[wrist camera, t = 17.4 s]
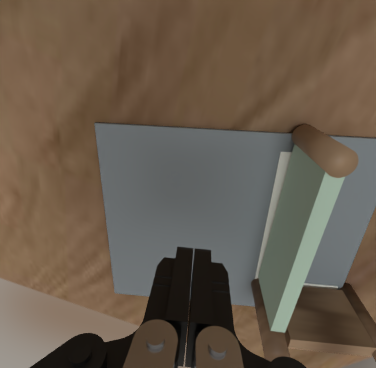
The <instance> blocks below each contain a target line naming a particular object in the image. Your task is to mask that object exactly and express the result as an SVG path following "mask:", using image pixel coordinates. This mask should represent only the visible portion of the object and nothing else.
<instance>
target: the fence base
mask: <svg viewBox="0 0 376 368" xmlns="http://www.w3.org/2000/svg"><path fill="white" fill-rule="evenodd" d="M251 287H252V293H253V298H254V303H255V309H256V314H257V319H258V325H259V330H260V335H261V340H262V346H263V351H264V356H265V359H266V360H268V361H272V360H273V359H275V358H277V357H281V356H285V357H290V354H289V351H288V348H290V349H299V350H309V351H319V352H328V353H338V354H348V355H358V356H367V357H372V356H373V357H374V359H375V361H376V324H375V322H374V320H373V319H372V317H371V316H370V314H369V313H368V311H367V310H366V308H365V307H364V305H363V303H362V302H361V300H360V299H359V297H358V296H357V294H356V293H355V291H354V290H353V288H352V286H351V285H350V284H347V283H344V284H343V287H341V288H340V289H339V290H337V289H325V288H314V287H302V290H301V293H300V295H299V298H298V300H297V303H296V305H295V308H294V311H293V313H292V316H291V318H290V321H289V324H288V326H287V329H286V331H285V333H283V332H276V331H270V326H269V322H268V318H267V313H266V309H265V305H264V300H263V296H262V292H261V287H260V283H259V278H257V279H254V280H252V282H251Z"/></svg>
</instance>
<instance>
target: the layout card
mask: <svg viewBox="0 0 376 368" xmlns="http://www.w3.org/2000/svg"><path fill="white" fill-rule="evenodd" d="M94 124H95V132H96V141H97V149H98V157H99V166H100V174H101V182H102V191H103V199H104V207H105V216H106V224H107V232H108V241H109V249H110V257H111V266H112V274H113V282H114V290H115V293H119V294H129V295H140V296H150V292H151V288H152V285H153V280H154V277H155V272H156V268H157V265H158V264H159V263H160V261H161V260H162V259H163V258H164V257H167V258H175V257H176V251H177V247H187V248H193V260H194V251H195V248H197V249H207V250H211V262H215V263H222V264H223V265H224V267H225V269H226V270H227V272H228V277H229V287H230V296H231V304H235V305H246V306H255V303H254V298H253V293H252V287H251V282H252V280H254V279H257V278H258V275H259V271H260V268H261V264H262V260H263V257H264V253H265V250H266V246H267V242H268V239H269V235H270V231H271V228H272V224H273V220H274V217H275V213H276V209H277V206H278V202H279V198H280V195H281V191H282V188H283V184H284V180H285V177H286V173H287V169H288V166H289V162H290V158H291V155H292V151H293V147H294V143H293V141H292V134H293V133H279V132H261V131H243V130H225V129H208V128H190V127H172V126H154V125H136V124H118V123H100V122H96V123H94ZM328 136H329V137H331V138H333V139H335V140H336V141H338V142H340V143H342V144H343V145H345V146H347V147H348V148H350V149H352V150H353V151H355V152H356V153H357V155H358V159H359V160H358V165H357V167H356V169H355V170H354V171H353V172H352V173H351V174H349V175H348V176H345V178H344V181H343V184H342V186H341V189H340V191H339V194H338V197H337V199H336V202H335V204H334V207H333V210H332V212H331V215H330V217H329V220H328V223H327V225H326V228H325V230H324V233H323V235H322V238H321V241H320V243H319V246H318V248H317V251H316V254H315V256H314V259H313V261H312V264H311V267H310V269H309V272H308V274H307V277H306V280H305V282H304V285H303V287H314V288H325V289H337V290H339V289H340V288H341V287H343V284H344V282H345V280H346V277H347V275H348V272H349V270H350V267H351V265H352V263H353V260H354V258H355V255H356V253H357V250H358V248H359V246H360V243H361V241H362V238H363V236H364V233H365V231H366V229H367V226H368V224H369V221H370V219H371V216H372V214H373V212H374V209H375V207H376V138H369V137H351V136H333V135H328ZM192 270H193V261H192ZM191 280H192V275H191ZM190 292H191V288H190Z"/></svg>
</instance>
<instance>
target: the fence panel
mask: <svg viewBox="0 0 376 368" xmlns="http://www.w3.org/2000/svg"><path fill="white" fill-rule="evenodd" d="M292 141H293V143H294V147H293V151H292V155H291V158H290V162H289V166H288V169H287V173H286V177H285V180H284V184H283V188H282V191H281V195H280V198H279V202H278V206H277V209H276V213H275V217H274V220H273V224H272V228H271V231H270V235H269V239H268V242H267V246H266V250H265V253H264V257H263V260H262V264H261V268H260V271H259V275H258V278H259V283H260V287H261V292H262V296H263V300H264V305H265V309H266V313H267V318H268V322H269V326H270V331H276V332H283V333H285V331H286V329H287V326H288V324H289V321H290V318H291V316H292V313H293V311H294V308H295V305H296V303H297V300H298V298H299V295H300V293H301V290H302V287H303V285H304V282H305V280H306V277H307V274H308V272H309V269H310V267H311V264H312V261H313V259H314V256H315V254H316V251H317V248H318V246H319V243H320V241H321V238H322V235H323V233H324V230H325V228H326V225H327V223H328V220H329V217H330V215H331V212H332V210H333V207H334V204H335V202H336V199H337V197H338V194H339V191H340V189H341V186H342V184H343V181H344V178H345V176H348V175H349V174H351V173H352V172H353V171H354V170H355V169H356V167H357V165H358V160H359V159H358V155H357V153H356V152H355V151H353V150H352V149H350V148H348V147H347V146H345V145H343V144H342V143H340V142H338V141H336V140H335V139H333V138H331V137H329V136H328V135H326V134H324V133H323V132H321V131H319V130H317V129H316V128H314V127H312V126H310V125H307V124H304V125H300V126H298V127H297V128H296V129H295V130H294V131H293V134H292Z"/></svg>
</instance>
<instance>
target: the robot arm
mask: <svg viewBox="0 0 376 368" xmlns="http://www.w3.org/2000/svg"><path fill="white" fill-rule="evenodd" d="M192 261H193V270H192ZM191 275H192V280H191ZM190 288H191V292H190ZM189 302H190V306H189ZM188 315H189V320H188ZM187 327H188V334H187ZM186 336H187V347H186V362H185V366H186V367H191V368H306V367H305V366H304V365H303V364H302V363H300V362H299V361H297V360H295V359H293V358H290V357H285V356H281V357H277V358H275V359H273V360H272V361H268V360H266V359H264V358H262V357H260V356H257V355H255V354H253V353H252V352H250V351H249V350H247V349H246V348H245V347H244V346H243V345H242V344H241V343H240V341H239V340H238V338H237V336H236V334H235V331H234V325H233V315H232V306H231V296H230V287H229V277H228V272H227V270H226V269H225V267H224V265H223V264H222V263H215V262H211V250H207V249H197V248H195V251H194V260H193V248H187V247H177V251H176V257H175V258H167V257H164V258H163V259H162V260H161V261H160V263H159V264H158V265H157V268H156V272H155V277H154V280H153V285H152V288H151V292H150V296H149V300H148V304H147V308H146V312H145V316H144V319H143V322H142V324H141V325H140V327H139V328H138V329H137V330H136V331H135V332H134V333H133V334H131V335H129V336H127V337H125V338H122V339H118V340H113V341H109V342H104V341H103V339H102V338H101V337H99V336H98V335H96V334H92V333H84V334H80V335H77V336H75V337H73V338H71V339H70V340H68V341H67V342H65V343H64V344H63V345H61V346H60V347H58V348H57V349H55V350H54V351H53V352H51V353H50V354H48V355H47V356H46V357H44V358H43V359H41V360H40V361H38V362H37V363H36V364H34V365H33V366H31V367H30V368H178V366H183V364H184V354H185V345H186Z"/></svg>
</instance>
